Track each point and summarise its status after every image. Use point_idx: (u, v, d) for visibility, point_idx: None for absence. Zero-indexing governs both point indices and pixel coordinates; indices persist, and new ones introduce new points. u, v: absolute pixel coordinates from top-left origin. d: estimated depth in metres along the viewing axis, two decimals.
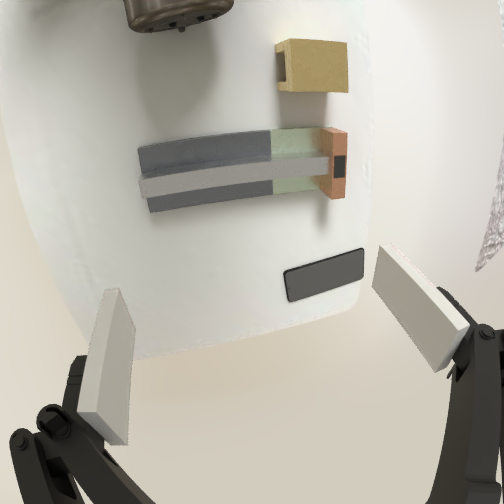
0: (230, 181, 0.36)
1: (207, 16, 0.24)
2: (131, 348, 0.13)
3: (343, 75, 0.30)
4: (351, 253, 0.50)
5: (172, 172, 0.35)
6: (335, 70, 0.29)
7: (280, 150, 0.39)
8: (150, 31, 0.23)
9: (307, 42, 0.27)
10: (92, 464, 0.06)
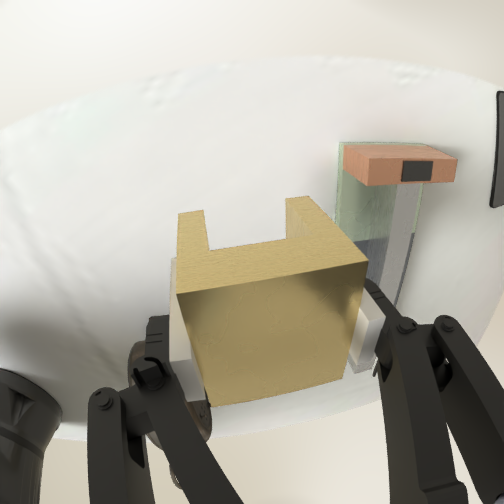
0: None
1: None
2: None
3: (311, 286, 0.10)
4: (500, 114, 0.22)
5: None
6: (293, 312, 0.10)
7: (366, 228, 0.26)
8: None
9: (213, 383, 0.12)
10: (178, 420, 0.08)
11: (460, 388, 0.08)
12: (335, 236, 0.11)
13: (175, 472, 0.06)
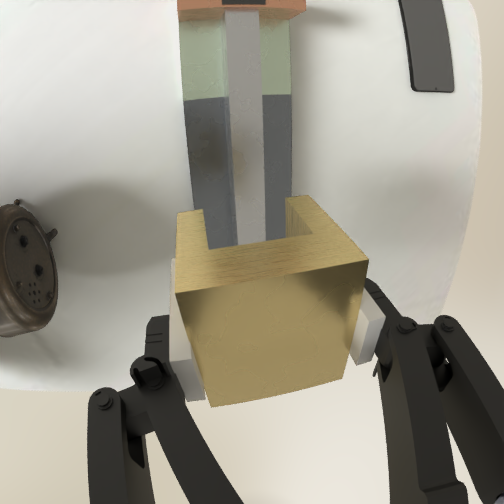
0: (258, 173, 0.23)
1: (21, 231, 0.19)
2: None
3: (311, 285, 0.10)
4: None
5: None
6: (293, 312, 0.10)
7: (217, 82, 0.22)
8: (51, 296, 0.22)
9: (212, 383, 0.12)
10: (178, 419, 0.08)
11: (460, 388, 0.08)
12: (335, 235, 0.11)
13: (175, 472, 0.06)
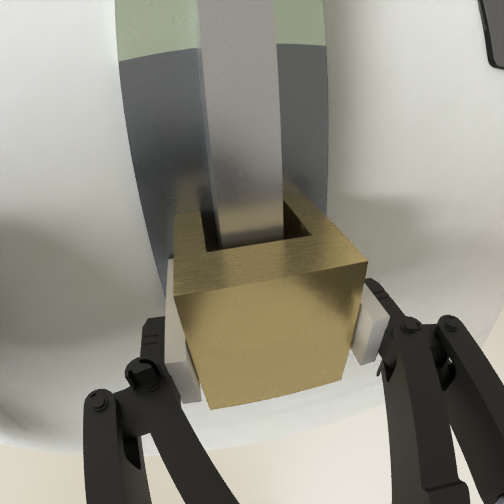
0: (271, 200, 0.11)
1: None
2: None
3: (310, 288, 0.10)
4: None
5: None
6: (291, 314, 0.10)
7: (183, 23, 0.09)
8: None
9: (211, 385, 0.12)
10: (173, 421, 0.08)
11: (463, 388, 0.08)
12: (334, 237, 0.11)
13: (171, 474, 0.06)
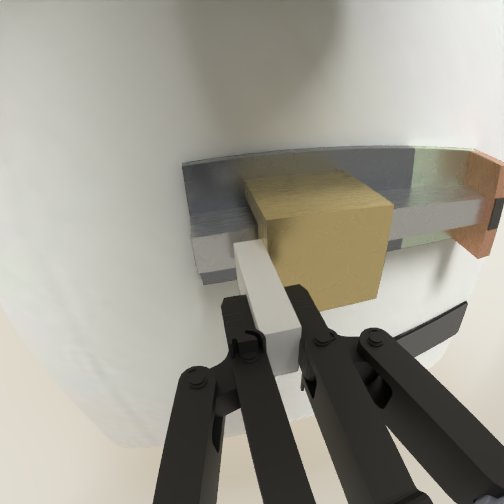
0: None
1: None
2: None
3: (373, 273, 0.17)
4: (455, 310, 0.33)
5: None
6: (360, 267, 0.16)
7: (422, 181, 0.21)
8: None
9: (308, 222, 0.14)
10: (266, 395, 0.08)
11: (404, 406, 0.08)
12: None
13: (251, 445, 0.07)
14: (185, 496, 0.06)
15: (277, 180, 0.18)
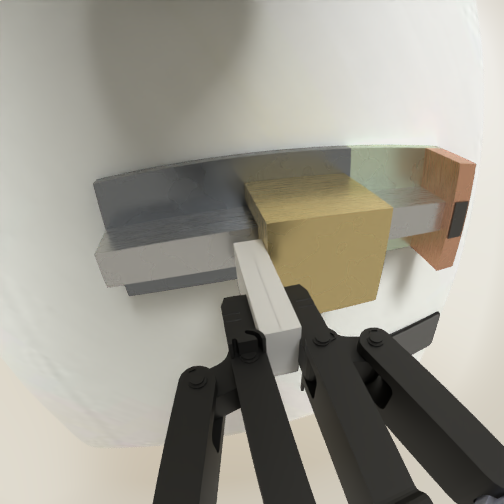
0: None
1: None
2: None
3: (372, 275, 0.17)
4: (425, 321, 0.32)
5: (163, 235, 0.17)
6: (359, 270, 0.17)
7: (364, 185, 0.21)
8: None
9: (308, 225, 0.14)
10: (266, 395, 0.08)
11: (404, 406, 0.08)
12: None
13: (251, 445, 0.07)
14: (185, 496, 0.06)
15: (277, 183, 0.19)
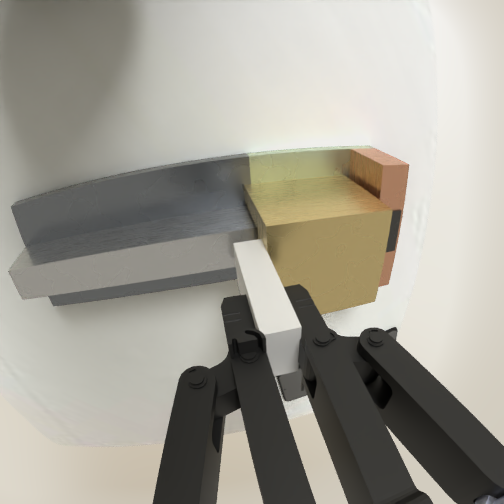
0: (164, 272, 0.17)
1: None
2: None
3: (372, 277, 0.17)
4: None
5: (59, 254, 0.16)
6: (359, 271, 0.17)
7: None
8: None
9: (307, 228, 0.14)
10: (266, 395, 0.08)
11: (404, 406, 0.08)
12: None
13: (251, 445, 0.07)
14: (185, 496, 0.06)
15: (276, 185, 0.19)
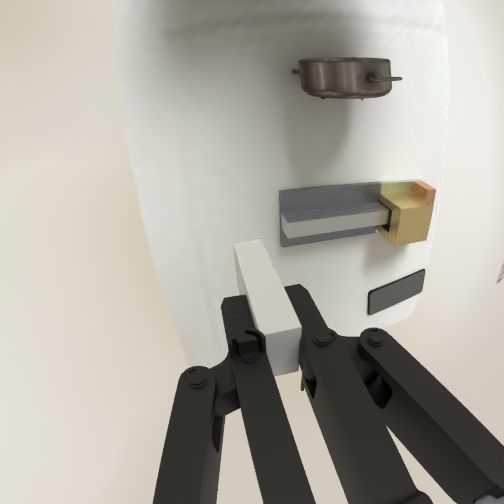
0: (356, 225, 0.44)
1: None
2: None
3: (426, 229, 0.44)
4: (416, 273, 0.58)
5: (314, 216, 0.43)
6: (422, 227, 0.43)
7: None
8: (323, 98, 0.31)
9: (411, 210, 0.41)
10: (266, 395, 0.08)
11: (404, 406, 0.08)
12: None
13: (251, 445, 0.07)
14: (185, 496, 0.06)
15: (392, 195, 0.45)
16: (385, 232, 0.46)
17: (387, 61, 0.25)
